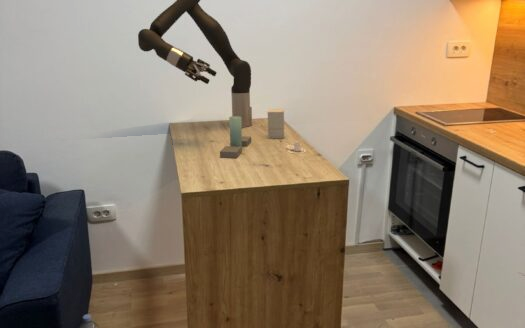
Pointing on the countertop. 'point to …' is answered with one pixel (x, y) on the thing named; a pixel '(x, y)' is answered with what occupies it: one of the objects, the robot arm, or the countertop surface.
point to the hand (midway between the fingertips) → (212, 78)
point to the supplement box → (276, 123)
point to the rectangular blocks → (235, 149)
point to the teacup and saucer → (295, 147)
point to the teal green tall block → (235, 131)
